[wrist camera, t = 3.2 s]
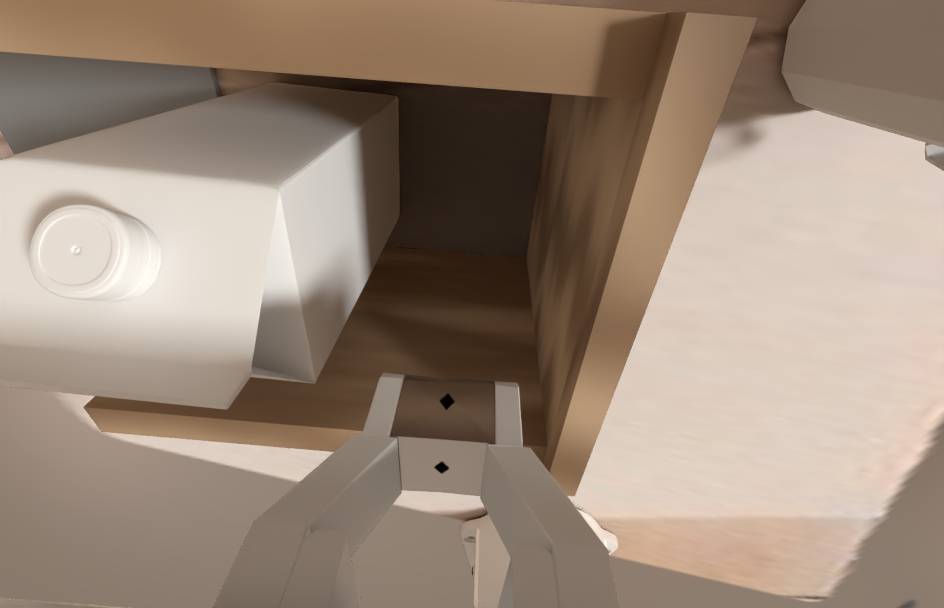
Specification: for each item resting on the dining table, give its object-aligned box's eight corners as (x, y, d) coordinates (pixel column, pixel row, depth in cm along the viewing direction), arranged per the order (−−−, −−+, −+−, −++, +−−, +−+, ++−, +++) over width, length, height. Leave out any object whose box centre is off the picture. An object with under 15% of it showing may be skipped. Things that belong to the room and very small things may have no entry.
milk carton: (400, 215, 26) (261, 493, 11) (292, 204, 26) (-1, 466, 11) (399, 95, 22) (173, 267, 7) (271, 81, 22) (-247, 222, 7)
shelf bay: (540, 277, 29) (574, 496, 16) (270, 256, 29) (80, 453, 16) (588, 18, 20) (758, 16, 7) (202, -10, 20) (-347, -63, 7)
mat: (255, 222, 27) (252, 225, 27) (51, 206, 28) (45, 208, 27) (208, 48, 22) (203, 48, 21) (-50, 29, 22) (-58, 29, 21)
